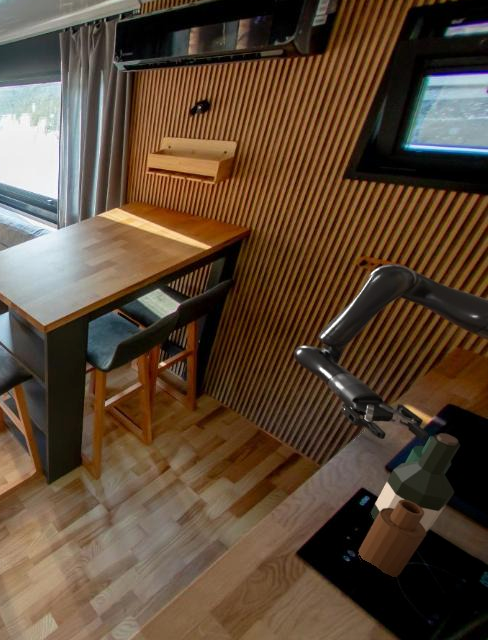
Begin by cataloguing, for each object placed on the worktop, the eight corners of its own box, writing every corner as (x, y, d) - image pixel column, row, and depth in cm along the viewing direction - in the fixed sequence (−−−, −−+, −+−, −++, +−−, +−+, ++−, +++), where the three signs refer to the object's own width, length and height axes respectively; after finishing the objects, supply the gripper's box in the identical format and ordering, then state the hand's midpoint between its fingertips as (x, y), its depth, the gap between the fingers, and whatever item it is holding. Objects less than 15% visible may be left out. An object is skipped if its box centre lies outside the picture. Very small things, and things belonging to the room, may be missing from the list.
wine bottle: (369, 527, 86) (416, 441, 73) (369, 501, 91) (414, 415, 78) (425, 553, 80) (487, 463, 67) (422, 523, 85) (480, 434, 72)
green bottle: (419, 483, 92) (448, 434, 85) (435, 503, 88) (467, 453, 80) (389, 477, 95) (414, 429, 87) (403, 497, 90) (431, 448, 83)
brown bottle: (388, 552, 81) (421, 497, 73) (406, 582, 76) (444, 526, 68) (352, 544, 83) (381, 489, 75) (367, 573, 79) (400, 518, 70)
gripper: (327, 382, 107) (374, 426, 92) (388, 382, 103) (445, 428, 89) (321, 401, 110) (365, 446, 96) (379, 402, 106) (433, 448, 92)
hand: (404, 437), depth 92 cm, fingers open, 8 cm apart
